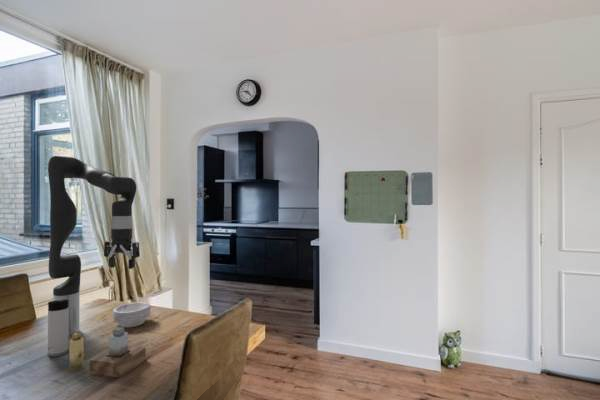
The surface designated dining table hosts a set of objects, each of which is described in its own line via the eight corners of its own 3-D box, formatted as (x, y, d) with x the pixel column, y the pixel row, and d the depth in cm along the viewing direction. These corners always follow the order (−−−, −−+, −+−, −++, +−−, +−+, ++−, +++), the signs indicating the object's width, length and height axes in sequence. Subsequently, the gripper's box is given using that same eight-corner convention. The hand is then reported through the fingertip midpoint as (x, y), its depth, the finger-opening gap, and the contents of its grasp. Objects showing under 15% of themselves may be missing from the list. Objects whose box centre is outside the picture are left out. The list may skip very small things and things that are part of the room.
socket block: (89, 373, 110) (89, 360, 110) (116, 356, 122) (116, 344, 122) (121, 377, 107) (121, 363, 107) (145, 359, 119) (145, 347, 119)
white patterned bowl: (118, 319, 159) (118, 302, 159) (153, 316, 162) (153, 300, 162) (108, 331, 144) (108, 313, 144) (146, 329, 147) (146, 311, 147)
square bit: (109, 365, 113) (109, 330, 113) (117, 360, 117) (117, 325, 117) (119, 366, 112) (119, 331, 112) (127, 361, 116) (127, 326, 116)
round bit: (66, 370, 111) (66, 335, 111) (76, 364, 115) (76, 330, 115) (76, 372, 111) (76, 336, 111) (86, 366, 115) (86, 331, 115)
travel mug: (45, 358, 120) (46, 303, 120) (49, 351, 125) (49, 298, 125) (67, 355, 123) (67, 300, 122) (69, 347, 128) (69, 296, 128)
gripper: (98, 227, 130) (98, 269, 130) (131, 228, 127) (131, 270, 127) (113, 226, 137) (113, 265, 137) (144, 226, 135) (143, 266, 135)
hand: (121, 268), depth 132 cm, fingers open, 8 cm apart
